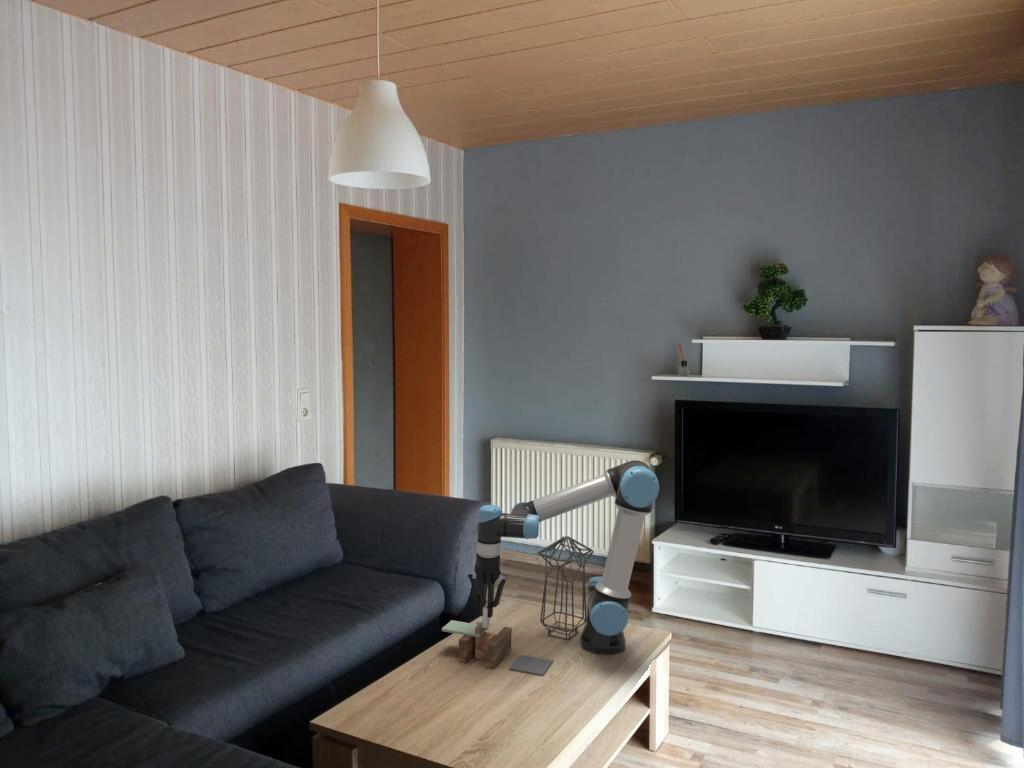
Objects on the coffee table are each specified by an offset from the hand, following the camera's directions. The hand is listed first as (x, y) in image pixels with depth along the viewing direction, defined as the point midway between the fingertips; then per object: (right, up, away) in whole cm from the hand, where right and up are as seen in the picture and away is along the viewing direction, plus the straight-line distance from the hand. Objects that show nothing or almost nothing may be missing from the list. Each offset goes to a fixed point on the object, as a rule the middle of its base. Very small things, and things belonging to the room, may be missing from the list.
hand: (485, 626), depth 263 cm
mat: (+15, -11, -5) cm, 19 cm away
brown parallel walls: (0, -10, +1) cm, 10 cm away
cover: (-7, -2, +3) cm, 8 cm away
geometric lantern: (+26, -9, +21) cm, 34 cm away
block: (0, -10, +1) cm, 10 cm away
